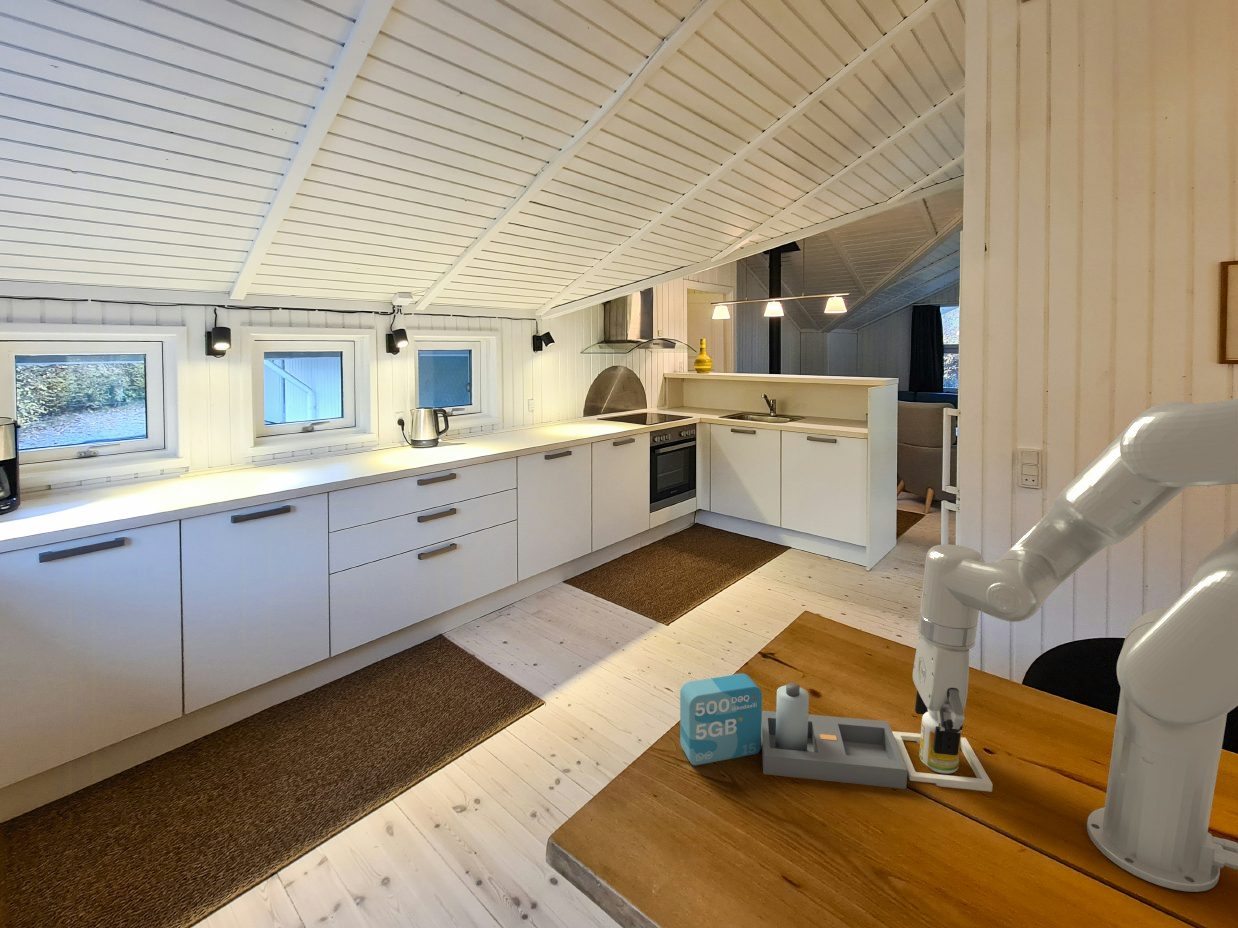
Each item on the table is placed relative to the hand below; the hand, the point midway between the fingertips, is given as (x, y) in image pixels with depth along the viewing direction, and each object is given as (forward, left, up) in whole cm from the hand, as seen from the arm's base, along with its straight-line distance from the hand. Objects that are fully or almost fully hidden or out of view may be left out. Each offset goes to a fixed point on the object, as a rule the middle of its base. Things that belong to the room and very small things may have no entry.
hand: (934, 732), depth 95 cm
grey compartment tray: (+14, +7, -5) cm, 17 cm away
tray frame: (-1, 0, -5) cm, 5 cm away
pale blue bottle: (+19, +9, -4) cm, 22 cm away
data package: (+29, +14, -5) cm, 33 cm away
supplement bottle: (-1, 0, -5) cm, 5 cm away
